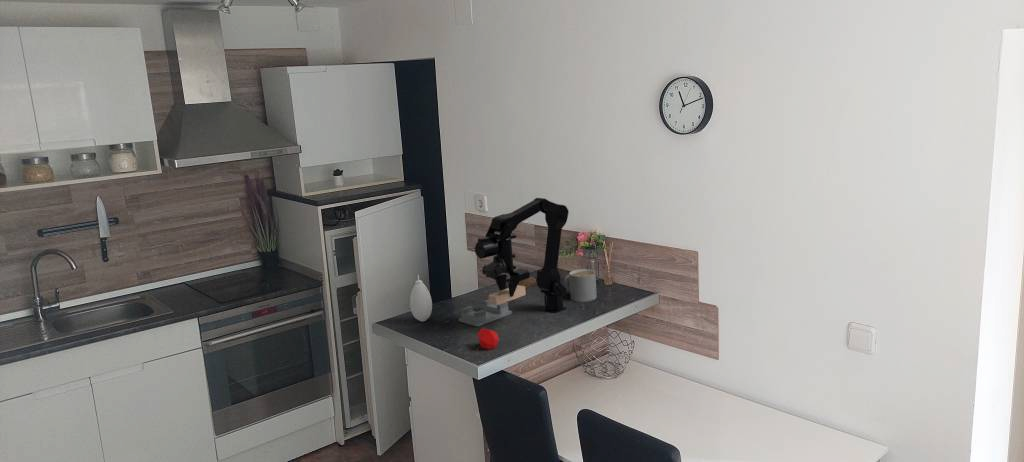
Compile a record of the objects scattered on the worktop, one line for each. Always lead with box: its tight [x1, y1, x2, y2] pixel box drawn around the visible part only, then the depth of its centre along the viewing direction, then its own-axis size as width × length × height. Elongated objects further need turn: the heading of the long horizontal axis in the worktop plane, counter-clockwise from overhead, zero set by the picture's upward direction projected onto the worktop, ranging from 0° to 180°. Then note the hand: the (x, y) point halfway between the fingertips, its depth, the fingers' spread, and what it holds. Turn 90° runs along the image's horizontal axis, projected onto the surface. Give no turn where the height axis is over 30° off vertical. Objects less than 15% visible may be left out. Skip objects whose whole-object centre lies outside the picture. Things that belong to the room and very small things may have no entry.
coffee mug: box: [564, 268, 597, 303], centre depth 284 cm, size 13×10×10 cm
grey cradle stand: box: [458, 298, 513, 328], centre depth 269 cm, size 10×17×4 cm, turn 133°
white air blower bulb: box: [409, 274, 433, 322], centre depth 269 cm, size 8×8×18 cm
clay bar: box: [488, 285, 527, 305], centre depth 258 cm, size 4×14×3 cm, turn 134°
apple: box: [477, 327, 500, 350], centre depth 240 cm, size 7×7×8 cm
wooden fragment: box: [506, 276, 537, 290], centre depth 308 cm, size 26×11×1 cm, turn 153°
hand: (507, 295), depth 258 cm, fingers closed on clay bar, 4 cm apart
